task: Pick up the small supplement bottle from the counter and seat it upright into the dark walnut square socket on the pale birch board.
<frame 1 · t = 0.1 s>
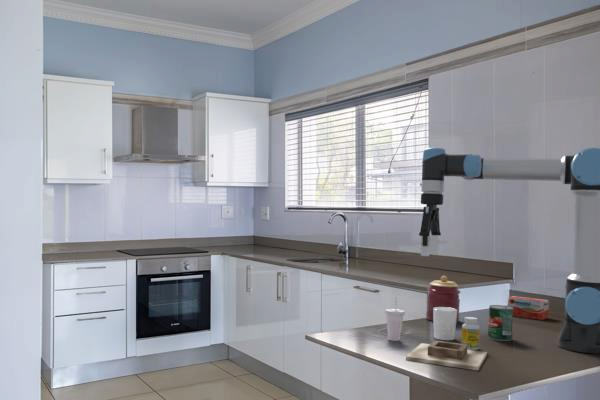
hand: (429, 254, 207), 28 cm above the worktop, tool pointing down, fingers open, 13 cm apart
socket board: (447, 357, 177), on the worktop
white cup: (443, 338, 204), on the worktop
canned tomato: (499, 339, 208), on the worktop
smoothie: (393, 340, 198), on the worktop
medicine box: (527, 317, 257), on the worktop
supplement bottle: (469, 348, 191), on the worktop
canister: (442, 320, 239), on the worktop
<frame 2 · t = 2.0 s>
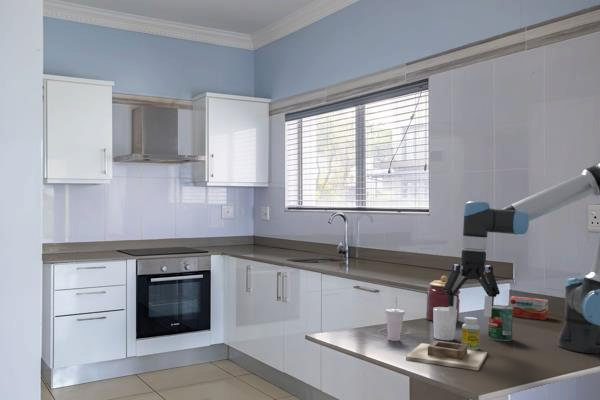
hand: (469, 316, 191), 10 cm above the worktop, tool pointing down, fingers open, 13 cm apart
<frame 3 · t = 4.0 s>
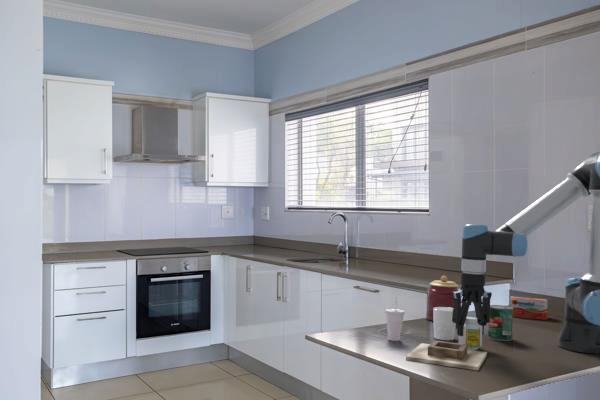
hand: (469, 345, 191), 1 cm above the worktop, tool pointing down, fingers closed on supplement bottle, 5 cm apart
supplement bottle: (469, 348, 191), on the worktop, touching gripper
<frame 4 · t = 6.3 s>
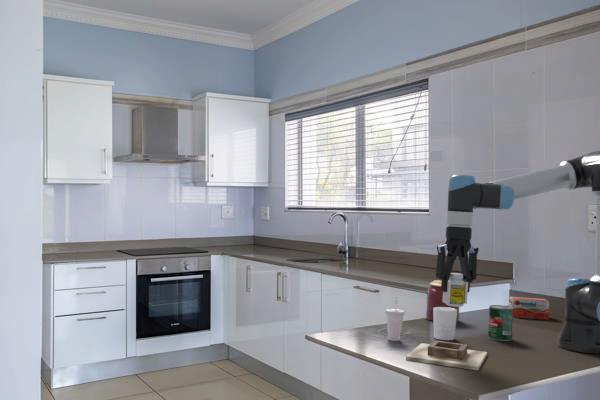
hand: (454, 302, 182), 16 cm above the worktop, tool pointing down, fingers closed on supplement bottle, 5 cm apart
supplement bottle: (454, 306, 182), point 15 cm above the worktop, touching gripper
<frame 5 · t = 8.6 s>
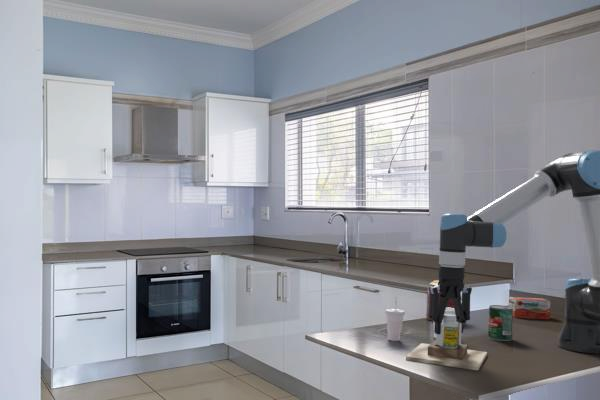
hand: (448, 344, 177), 4 cm above the worktop, tool pointing down, fingers closed on supplement bottle, 5 cm apart
supplement bottle: (448, 348, 177), point 3 cm above the worktop, touching gripper
when the fingers open (4 cm above the worktop, at t = 9.0 s): supplement bottle drops 2 cm, resting on socket board.
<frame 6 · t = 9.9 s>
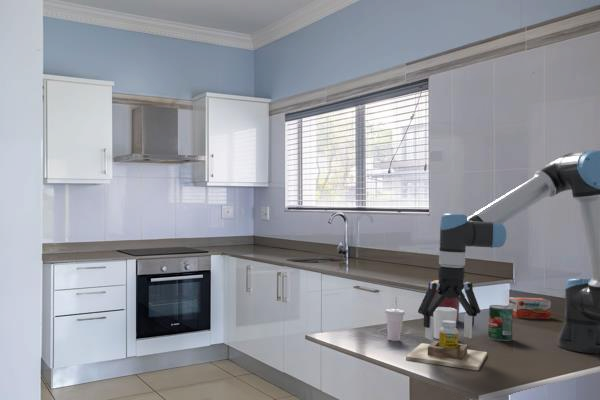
hand: (448, 338, 177), 6 cm above the worktop, tool pointing down, fingers open, 13 cm apart
supplement bottle: (447, 354, 177), point 1 cm above the worktop, touching socket board
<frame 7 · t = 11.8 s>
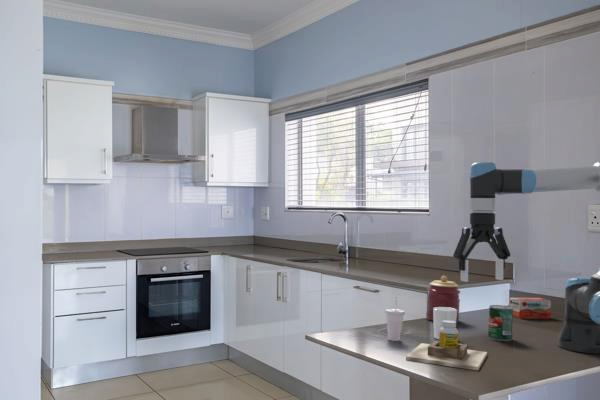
hand: (482, 280, 187), 22 cm above the worktop, tool pointing down, fingers open, 13 cm apart
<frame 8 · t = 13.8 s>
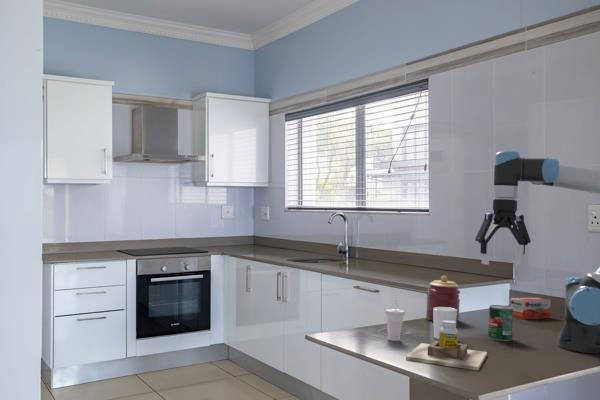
hand: (502, 264, 195), 27 cm above the worktop, tool pointing down, fingers open, 13 cm apart
at the end: supplement bottle 0.1 cm off-centre on the socket board, point 0.8 cm above the socket board's base; supplement bottle tilted 0°; the gripper is holding nothing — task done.
